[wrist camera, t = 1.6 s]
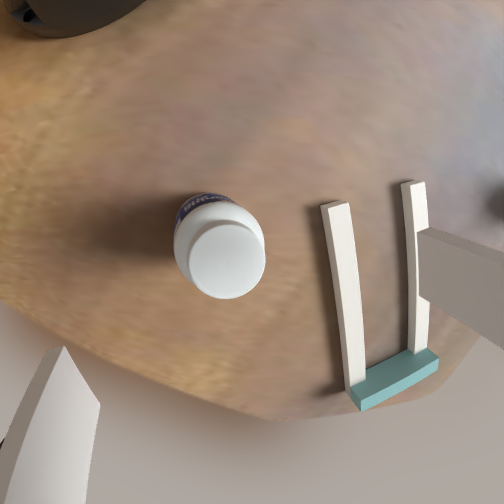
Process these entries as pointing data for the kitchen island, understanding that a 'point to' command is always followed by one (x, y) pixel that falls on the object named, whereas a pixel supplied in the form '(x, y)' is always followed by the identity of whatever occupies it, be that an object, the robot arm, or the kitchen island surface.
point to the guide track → (350, 310)
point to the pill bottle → (218, 246)
